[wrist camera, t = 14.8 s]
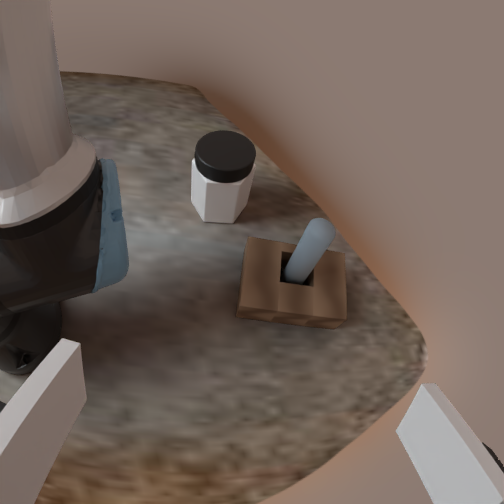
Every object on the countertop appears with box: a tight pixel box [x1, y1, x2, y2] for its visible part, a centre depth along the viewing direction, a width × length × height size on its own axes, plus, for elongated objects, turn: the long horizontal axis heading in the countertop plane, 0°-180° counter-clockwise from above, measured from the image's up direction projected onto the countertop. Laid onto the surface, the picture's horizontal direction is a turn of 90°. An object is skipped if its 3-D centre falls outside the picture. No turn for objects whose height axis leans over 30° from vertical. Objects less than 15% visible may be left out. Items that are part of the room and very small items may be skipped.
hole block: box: [236, 237, 347, 329], centre depth 44 cm, size 14×10×4 cm
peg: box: [280, 218, 335, 285], centre depth 41 cm, size 3×3×14 cm
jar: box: [191, 131, 256, 223], centre depth 47 cm, size 9×8×12 cm
